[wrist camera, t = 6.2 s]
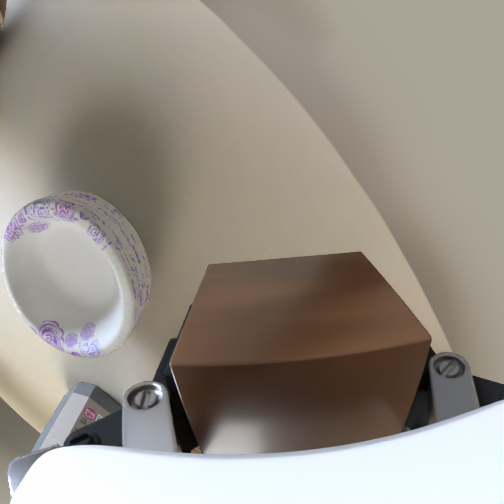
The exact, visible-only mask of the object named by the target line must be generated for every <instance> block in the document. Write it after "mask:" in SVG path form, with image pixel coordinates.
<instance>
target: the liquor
mask: <svg viewBox="0 0 504 504" xmlns="http://www.w3.org/2000/svg"><path fill="white" fill-rule="evenodd" d="M120 409H122V406H121V405H120V404H119V403H118V402H116V401H115V400H114V399H112V398H111V397H110V396H109V395H107V394H106V393H105V392H104V391H103V390H101V389H100V388H99V387H98V386H96V385H92V384H88V383H84V382H81V383H78V384H77V385H76V386H75V387H74V388H72V389H71V390H70V391H69V392H68V393H67V394H66V395H65V396H64V397H63V399H62V401H61V402H60V404H59V405H58V407H57V409H56V410H55V412H54V414H53V415H52V417H51V418H50V420H49V422H48V424H47V425H46V427H45V429H44V430H43V432H42V434H41V435H40V438H39V439H38V441H37V443H36V444H35V446H34V448H33V449H32V451H31V453H32V452H35V451H38V450H41V449H44V448H47V447H49V446H52V445H55V444H59V445H60V446H63V444H64V441H65V439H66V438H67V437H68V436H69V435H70V434H71V433H72V432H74V431H76V430H78V429H80V428H82V427H84V426H86V425H89V424H91V423H93V422H95V421H97V420H99V419H101V418H103V417H106V416H108V415H110V414H112V413H114V412H116V411H118V410H120Z"/></svg>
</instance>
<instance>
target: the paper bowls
mask: <svg viewBox="0 0 504 504" xmlns="http://www.w3.org/2000/svg"><path fill="white" fill-rule="evenodd" d="M1 265H2V273H3V277H4V281H5V285H6V288H7V290H8V293H9V296H10V298H11V300H12V302H13V304H14V305H15V307H16V309H17V311H18V312H19V314H20V315H21V317H22V318H23V319H24V321H25V322H26V323H27V324H28V325H29V327H30V328H31V329H32V330H33V331H34V332H35V333H36V334H37V335H38V336H40V337H41V338H42V339H43V340H45V341H46V342H47V343H49V344H50V345H52V346H53V347H56V348H57V349H59V350H62V351H64V352H67V353H69V354H72V355H75V356H79V357H99V356H104V355H106V354H109V353H112V352H113V351H115V350H117V349H118V348H119V347H120V346H121V345H123V344H124V342H125V341H126V340H127V339H128V337H129V335H130V333H131V332H132V330H133V328H134V327H135V325H136V324H137V322H138V320H139V318H140V317H141V315H142V313H143V312H144V309H145V307H146V305H147V302H148V299H149V295H150V290H151V270H150V265H149V261H148V257H147V254H146V251H145V249H144V247H143V244H142V242H141V240H140V238H139V236H138V234H137V232H136V231H135V229H134V228H133V226H132V225H131V224H130V223H129V222H128V220H127V219H126V218H125V217H124V216H123V214H122V213H121V212H120V211H119V210H118V209H116V208H115V207H114V206H113V205H112V204H110V203H108V202H107V201H105V200H104V199H102V198H100V197H98V196H96V195H94V194H90V193H87V192H83V191H65V192H60V193H57V194H54V195H50V196H48V197H45V198H42V199H39V200H36V201H33V202H31V203H29V204H27V205H26V206H24V207H23V208H22V209H20V210H19V211H18V212H17V213H16V214H15V215H14V217H13V218H12V219H11V221H10V223H9V225H8V226H7V229H6V231H5V234H4V237H3V241H2V249H1Z"/></svg>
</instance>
